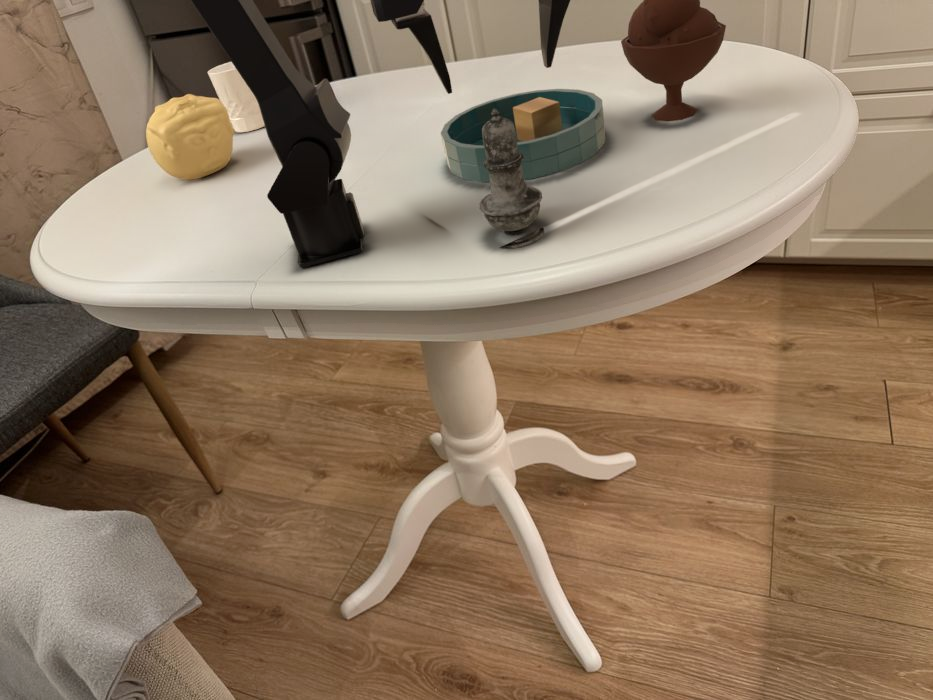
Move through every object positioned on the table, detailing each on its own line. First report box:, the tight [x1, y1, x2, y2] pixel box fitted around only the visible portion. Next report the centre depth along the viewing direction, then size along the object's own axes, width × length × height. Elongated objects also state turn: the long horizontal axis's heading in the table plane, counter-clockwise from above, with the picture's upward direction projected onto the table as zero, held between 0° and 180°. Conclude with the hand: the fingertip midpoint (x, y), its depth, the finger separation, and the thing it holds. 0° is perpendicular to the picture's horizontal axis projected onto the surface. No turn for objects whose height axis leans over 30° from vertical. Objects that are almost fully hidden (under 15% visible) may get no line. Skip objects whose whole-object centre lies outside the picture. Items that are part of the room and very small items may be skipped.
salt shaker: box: [478, 108, 545, 250], centre depth 62 cm, size 6×6×12 cm
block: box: [513, 97, 562, 142], centre depth 83 cm, size 4×4×4 cm
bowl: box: [440, 88, 606, 184], centre depth 81 cm, size 19×19×4 cm
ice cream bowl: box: [620, 0, 727, 123], centre depth 77 cm, size 11×11×15 cm
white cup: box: [207, 61, 265, 133], centre depth 116 cm, size 8×8×10 cm
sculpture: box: [145, 93, 235, 180], centre depth 100 cm, size 12×12×11 cm
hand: (498, 79), depth 62 cm, fingers open, 9 cm apart
